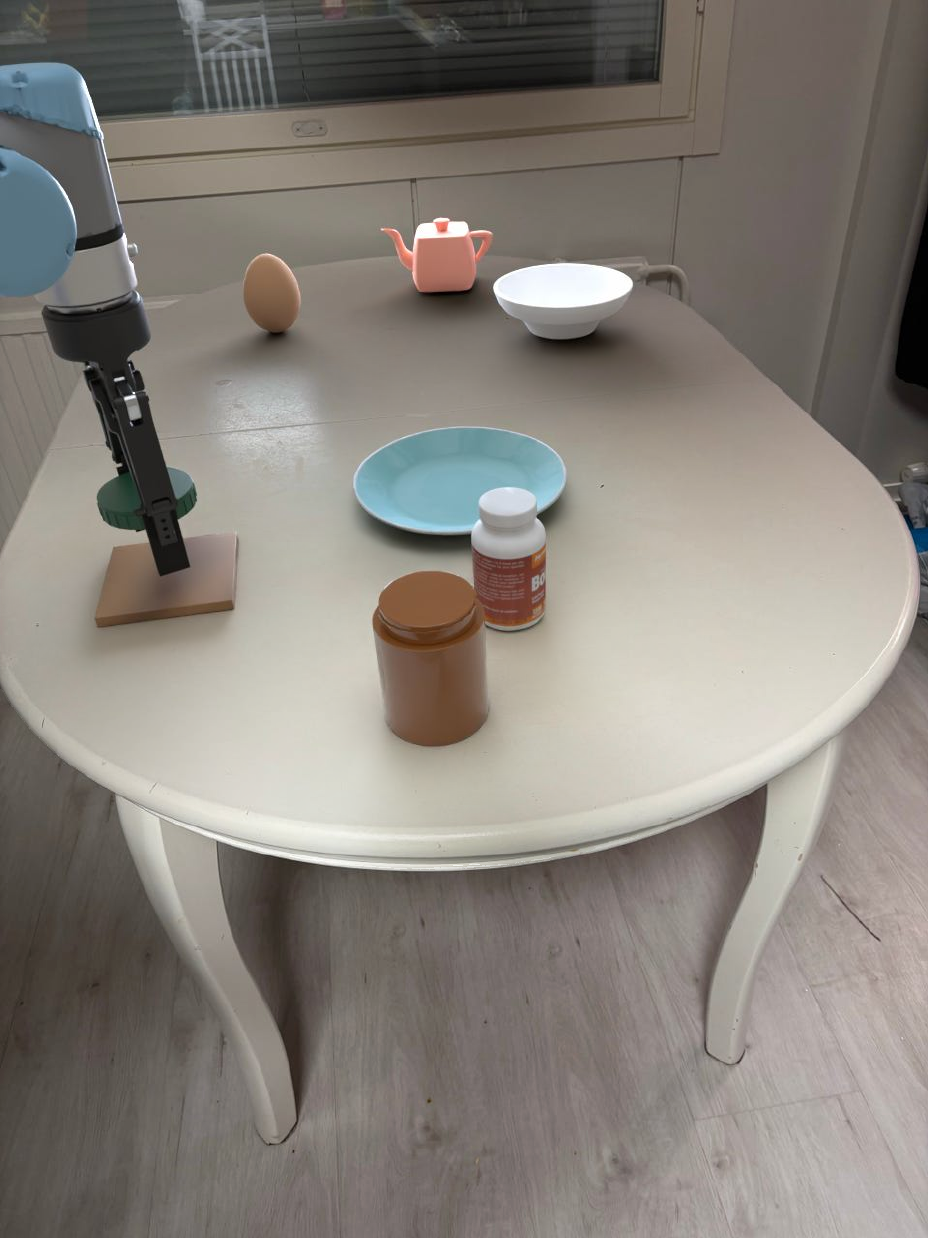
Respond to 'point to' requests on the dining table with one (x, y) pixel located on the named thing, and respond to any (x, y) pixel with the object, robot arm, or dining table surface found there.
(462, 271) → the teapot
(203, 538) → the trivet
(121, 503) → the jar lid
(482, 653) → the jam jar
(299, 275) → the dining table surface
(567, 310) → the bowl
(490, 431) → the plate
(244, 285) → the egg
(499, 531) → the pill bottle
